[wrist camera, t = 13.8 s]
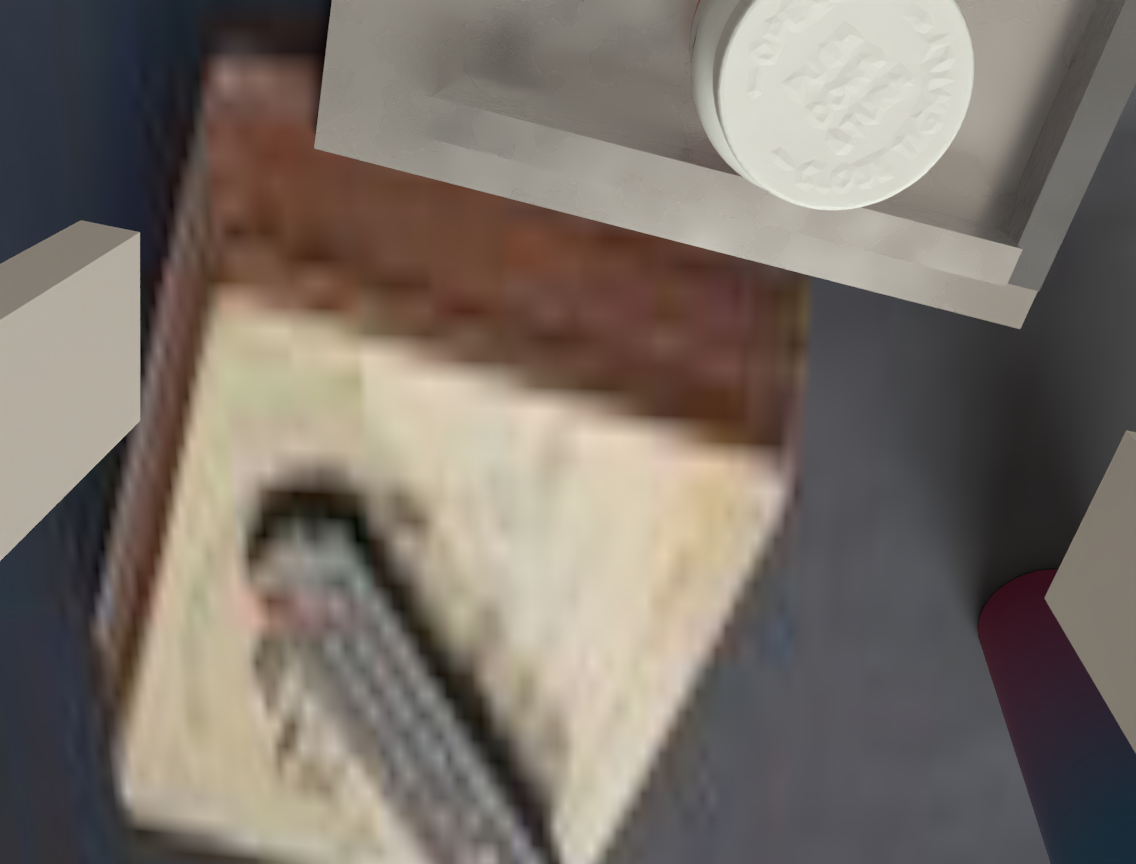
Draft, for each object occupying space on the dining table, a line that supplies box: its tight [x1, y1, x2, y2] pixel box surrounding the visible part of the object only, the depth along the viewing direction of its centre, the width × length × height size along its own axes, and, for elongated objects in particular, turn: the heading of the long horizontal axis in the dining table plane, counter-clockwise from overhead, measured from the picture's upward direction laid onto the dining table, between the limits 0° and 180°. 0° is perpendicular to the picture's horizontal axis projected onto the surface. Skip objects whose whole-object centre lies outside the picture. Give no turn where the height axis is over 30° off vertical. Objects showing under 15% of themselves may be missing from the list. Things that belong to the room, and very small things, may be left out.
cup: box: [978, 569, 1136, 864], centre depth 33 cm, size 7×7×15 cm
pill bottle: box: [689, 0, 974, 211], centre depth 26 cm, size 6×6×11 cm
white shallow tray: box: [314, 0, 1136, 329], centre depth 30 cm, size 24×14×3 cm, turn 77°
